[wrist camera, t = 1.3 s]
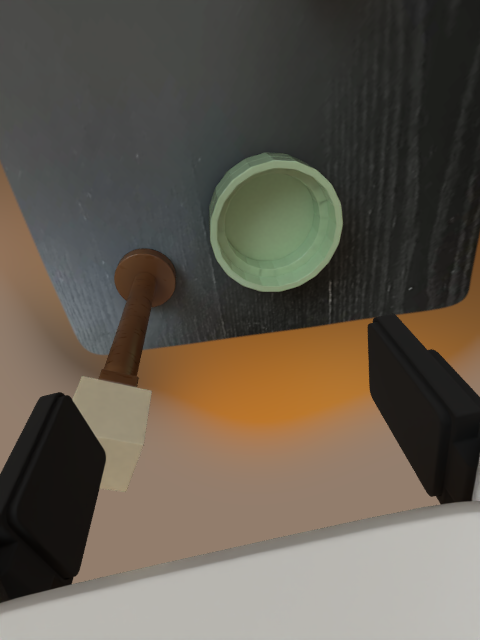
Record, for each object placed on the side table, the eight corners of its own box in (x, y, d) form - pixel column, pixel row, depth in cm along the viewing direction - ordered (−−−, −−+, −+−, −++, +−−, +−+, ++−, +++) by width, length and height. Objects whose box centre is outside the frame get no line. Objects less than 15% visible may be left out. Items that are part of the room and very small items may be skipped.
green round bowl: (193, 250, 38) (192, 270, 33) (234, 131, 32) (239, 136, 28) (294, 283, 41) (306, 305, 36) (346, 179, 35) (367, 191, 31)
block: (71, 423, 23) (49, 481, 19) (82, 375, 21) (59, 430, 18) (136, 435, 24) (126, 492, 20) (152, 390, 22) (143, 444, 19)
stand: (111, 291, 39) (51, 431, 23) (124, 240, 36) (66, 357, 20) (167, 307, 41) (147, 448, 25) (183, 258, 38) (173, 381, 22)
